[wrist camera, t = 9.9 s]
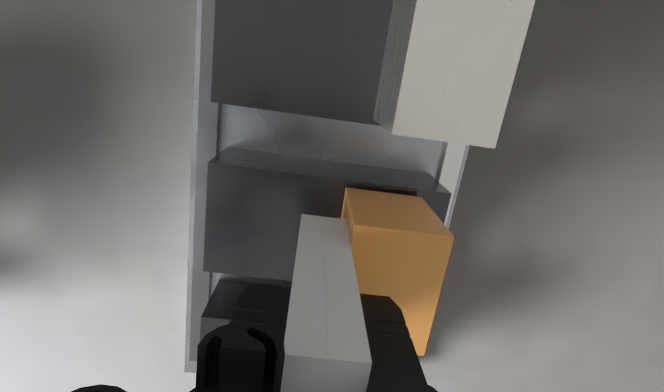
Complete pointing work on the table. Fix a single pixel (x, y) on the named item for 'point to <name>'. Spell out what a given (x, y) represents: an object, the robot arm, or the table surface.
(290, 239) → the breaker panel
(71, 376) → the table surface
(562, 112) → the table surface
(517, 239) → the table surface
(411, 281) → the toggle
